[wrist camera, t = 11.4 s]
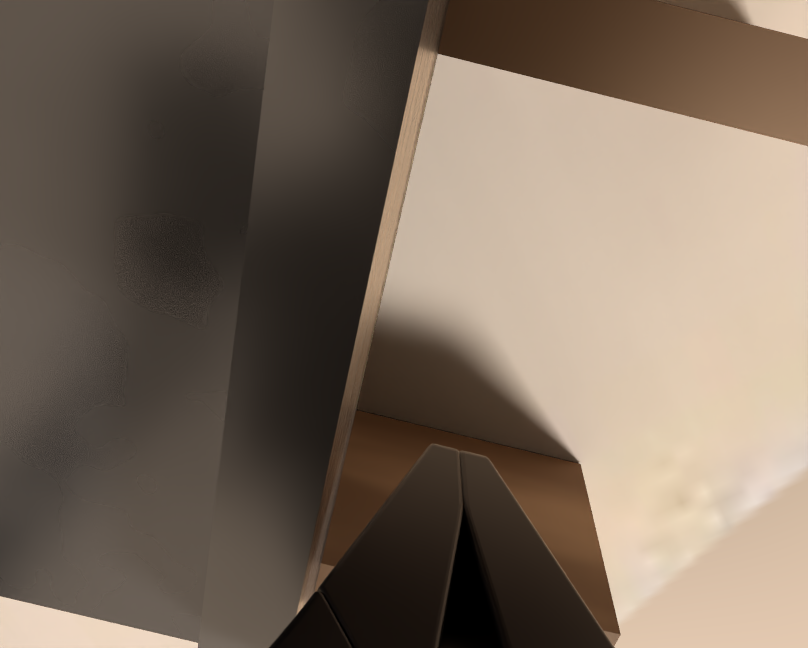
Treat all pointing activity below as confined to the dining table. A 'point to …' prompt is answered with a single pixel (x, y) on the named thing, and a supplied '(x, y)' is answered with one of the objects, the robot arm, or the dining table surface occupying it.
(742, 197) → the dining table surface
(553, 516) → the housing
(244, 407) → the lid
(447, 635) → the robot arm
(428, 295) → the dining table surface
